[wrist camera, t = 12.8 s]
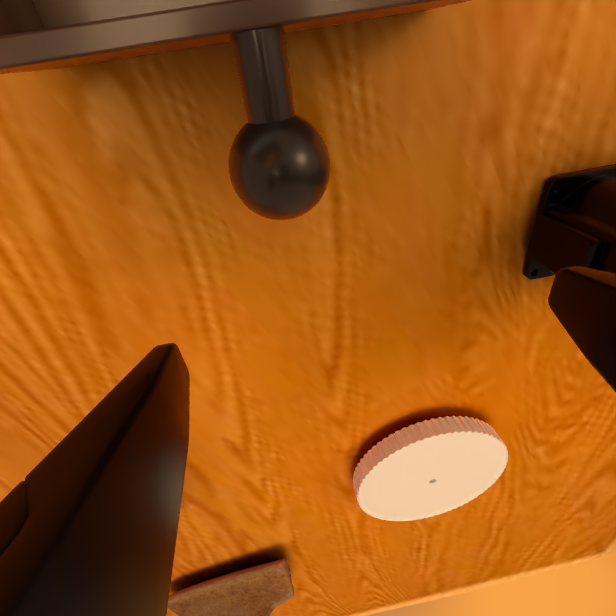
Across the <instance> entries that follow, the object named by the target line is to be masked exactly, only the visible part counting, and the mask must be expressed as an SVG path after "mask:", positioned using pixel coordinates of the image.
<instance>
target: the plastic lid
mask: <svg viewBox="0 0 616 616" xmlns="http://www.w3.org/2000/svg"><path fill="white" fill-rule="evenodd" d="M367 452H368V453H367V454H364V458H361V459H360V463H358V464H357V465H358V467H356V468H355V470H356V471H354V475H353V486H354V490H355V494H356V498H357V501H358V504H359V506H360V507H361V509H362V510H363V511H364V512H366V514H369V515H370V516H373V517H374V518H376V517H377V519H382V520H386V521H389V520H391V521H406V520H408V521H411V520H417V519H419V520H420V519H422V518H428V517H430V516H431V517H433V516H434V515H440V514H441V513H446V511H451V510H452V509H456V508H457V507H458V506H462V505H463V504H465V503H468V501H470V500H473V498H475V497H478V495H479V494H482V493H483V491H486V490H487V489H488V487H491V486H492V484H493V483H495V482H496V481H495V480H497V479H498V478H499V476H501V475H502V474H501V473H502V472H503V471H504V468H506V464H507V460H508V458H507V457H508V454H507V453H508V451H507V448H506V445H505V444H504V443H503V441H502V440H501V438H500V437H499V435H498V434H497V433H496V431H495V430H494V428H493V427H491V425H488V423H487V422H484V421H483V420H479V419H477V418H476V419H474V418H473V417H470V418H468V416H465V417H462V416H458V417H456V416H452V417H449V416H445V417H444V418H442V417H438V418H437V419H434V418H432V419H430V420H428V421H427V420H424V421H423V422H417V423H416V424H414V425H412V424H411V425H409V427H407V428H406V427H404V428H402V430H400V431H398V430H397V431H395V433H394V434H390V435H389V437H387V438H383V440H382V441H381V442H380V441H379V442H378V443H377V445H376V446H373V447H372V449H371V450H368V451H367Z"/></svg>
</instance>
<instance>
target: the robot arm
mask: <svg viewBox="0 0 616 616" xmlns="http://www.w3.org/2000/svg"><path fill="white" fill-rule="evenodd" d="M556 183H557V185H556V187H555V188H553V187H554V185H555V184H556ZM523 274H524V276H525V277H527V278H528V279H536V278H541V277H546V276H551V275H555V279H554V282H553V285H552V288H551V291H550V294H549V298H548V303H549V306H550V308H551V310H552V311H553V312H554V314H555V315H556V317H557V318H558V319H559V321H560V322H561V324H562V325H563V327H564V328H565V329H566V331H567V332H568V334H569V335H570V336H571V338H572V339H573V341H574V342H575V343H576V345H577V346H578V348H579V349H580V350H581V352H582V353H583V354H584V356H585V357H586V358H587V360H588V361H589V362H590V363H591V364H592V366H593V367H594V368H595V369H596V370H597V371H598V373H599V374H600V375H601V376H602V377H603V378H604V380H605V381H606V382H607V383H608V384H609V385H610V386H611V388H612V389H613V390H614V391H615V392H616V164H614V165H608V166H603V167H598V168H592V169H587V170H582V171H576V172H571V173H566V174H561V175H555V176H553V177H551V178H549V179H548V180H547V182H546V183H545V186H544V189H543V193H542V197H541V201H540V205H539V209H538V213H537V217H536V221H535V225H534V229H533V233H532V237H531V241H530V245H529V249H528V253H527V257H526V261H525V265H524V269H523ZM188 442H189V372H188V368H187V366H186V364H185V362H184V359H183V357H182V355H181V353H180V350H179V348H178V346H177V345H176V344H174V343H169V344H163V345H158V346H156V347H154V348H153V349H152V350H151V351H150V352H149V353H148V354H147V355H146V356H145V357H144V358H143V359H142V360H141V361H140V362H139V363H138V364H137V365H136V366H135V367H134V368H133V369H132V370H131V371H130V372H129V373H128V374H127V375H126V376H125V377H124V379H123V380H122V381H121V382H120V383H119V384H118V385H117V386H116V387H115V388H114V389H113V390H112V391H111V392H110V393H109V394H108V395H107V396H106V397H105V398H104V399H103V400H102V401H101V402H100V403H99V404H98V405H97V406H96V407H95V408H94V409H93V410H92V411H91V412H90V413H89V414H88V415H87V416H86V417H85V418H84V419H83V420H82V421H81V422H80V423H79V424H78V425H77V426H76V427H75V428H74V429H73V430H72V431H71V432H70V433H69V434H68V435H67V436H66V437H65V438H64V439H63V440H62V441H61V442H60V443H59V444H58V445H57V446H56V447H55V448H54V449H53V450H52V451H51V452H50V453H49V454H48V455H47V456H46V457H45V458H44V459H43V460H42V461H41V462H40V463H39V464H38V465H37V466H36V467H35V468H34V469H33V470H32V471H31V472H30V473H29V474H28V475H27V476H26V478H25V481H21V482H20V483H19V484H18V485H17V486H16V487H15V488H14V489H13V490H12V491H11V492H10V493H9V494H8V495H7V496H6V497H5V498H4V499H3V500H2V501H1V502H0V616H166V614H167V606H168V598H169V591H170V583H171V575H172V568H173V560H174V552H175V544H176V537H177V529H178V521H179V514H180V506H181V498H182V490H183V483H184V475H185V467H186V460H187V452H188Z"/></svg>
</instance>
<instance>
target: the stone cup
mask: <svg viewBox="0 0 616 616" xmlns="http://www.w3.org/2000/svg"><path fill="white" fill-rule="evenodd" d="M289 572H290V568H289V565H288V563H287V560H286V559H281V560H277V561H273V562H269V563H266V564H262V565H258V566H254V567H250V568H247V569H243V570H239V571H236V572H233V573H229V574H227V575H223V576H220V577H217V578H214V579H211V580H208V581H204V582H201V583H198V584H196V585H193V586H191V587H188V588H185V589H182V590H180V591H177V592H175V593H173V594H171V595H170V596H169V598H168V607H169V608H170V609H171V610H172V611H173V612H175V613H176V614H178V615H180V616H270V614H271V612H272V611H273V609H274V608H275V607H276V606H278V605H280V604H282V603H284V602H286V601H288V600H290V599H291V598H292V597H293V596H294V588H293V585H292V581H291V575H290V573H289Z"/></svg>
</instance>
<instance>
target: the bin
mask: <svg viewBox="0 0 616 616" xmlns="http://www.w3.org/2000/svg"><path fill="white" fill-rule="evenodd" d="M466 1H471V0H0V74H5V73H16V72H27V71H38V70H48V69H60V68H66V67H73V66H79V65H85V64H92V63H98V62H104V61H110V60H117V59H123V58H129V57H135V56H142V55H148V54H154V53H161V52H167V51H173V50H179V49H186V48H192V47H198V46H205V45H211V44H217V43H223V42H230V41H231V42H232V47H233V52H234V57H235V62H236V67H237V71H238V76H239V81H240V86H241V91H242V96H243V100H244V105H245V110H246V115H247V120H248V122H247V123H246V124H245V125H244V126H243V127H242V128H241V129H240V131H239V132H238V134H237V135H236V137H235V139H234V141H233V144H232V146H231V149H230V154H229V174H230V179H231V182H232V185H233V188H234V190H235V192H236V193H237V195H238V197H239V198H240V199H241V201H242V202H243V203H244V204H245V205H246V206H247V207H248V208H249V209H250V210H252V211H253V212H255V213H256V214H258V215H260V216H263V217H265V218H269V219H273V220H289V219H293V218H297V217H299V216H301V215H303V214H305V213H307V212H308V211H310V210H311V209H312V208H313V207H314V206H315V205H316V204H317V203H318V202H319V201H320V199H321V197H322V196H323V194H324V192H325V190H326V188H327V185H328V182H329V177H330V158H329V153H328V149H327V146H326V144H325V142H324V140H323V138H322V137H321V135H320V133H319V132H318V131H317V129H316V128H315V127H314V126H313V125H312V124H311V123H309V122H308V121H307V120H305V119H304V118H302V117H300V116H298V115H295V111H294V103H293V96H292V89H291V81H290V74H289V66H288V59H287V51H286V44H285V36H284V33H286V32H292V31H299V30H305V29H311V28H317V27H324V26H330V25H336V24H343V23H349V22H355V21H361V20H368V19H374V18H380V17H387V16H393V15H399V14H405V13H412V12H418V11H424V10H430V9H435V8H439V7H444V6H448V5H453V4H457V3H462V2H466Z"/></svg>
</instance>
